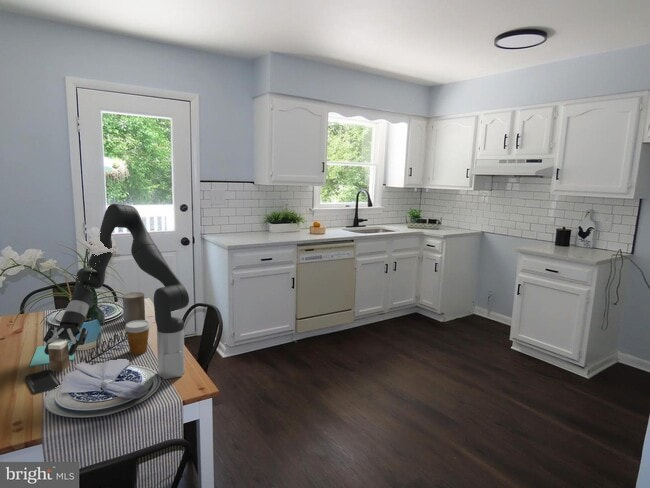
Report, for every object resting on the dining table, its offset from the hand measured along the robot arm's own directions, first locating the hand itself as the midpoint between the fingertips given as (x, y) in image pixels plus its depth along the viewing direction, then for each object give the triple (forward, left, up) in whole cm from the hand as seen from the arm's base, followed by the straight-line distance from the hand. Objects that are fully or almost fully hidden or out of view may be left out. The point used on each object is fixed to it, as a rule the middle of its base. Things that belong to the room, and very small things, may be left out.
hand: (58, 354), depth 153 cm
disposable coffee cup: (+5, -27, -6) cm, 28 cm away
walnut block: (0, 0, -5) cm, 6 cm away
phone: (-9, +4, -6) cm, 12 cm away
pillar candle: (+42, -27, -6) cm, 51 cm away
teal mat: (+14, +3, -5) cm, 16 cm away
